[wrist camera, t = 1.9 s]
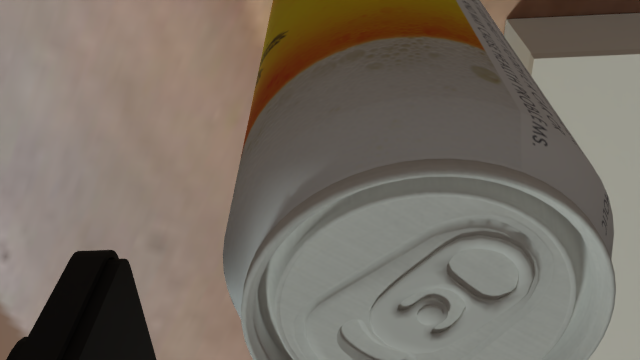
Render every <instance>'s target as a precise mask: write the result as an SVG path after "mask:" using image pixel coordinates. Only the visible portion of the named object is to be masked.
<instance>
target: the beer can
mask: <svg viewBox="0 0 640 360" xmlns="http://www.w3.org/2000/svg"><path fill="white" fill-rule="evenodd" d="M613 239H614V225H613V214H612V209H611V205H610V201H609V197H608V195H607V192H606V190H605V187H604V185H603V183H602V180H601V179H600V177H599V176H598V174H597V172H596V171H595V169H594V167H593V166H592V164H591V163H590V161H589V160H588V158H587V157H586V155H585V154H584V153H583V151H582V150H581V148H580V147H579V145H578V144H577V142H576V141H575V139H574V138H573V136H572V135H571V134H570V132H569V131H568V129H567V128H566V126H565V125H564V123H563V122H562V120H561V119H560V117H559V116H558V114H557V113H556V112H555V110H554V109H553V107H552V106H551V104H550V103H549V101H548V100H547V98H546V97H545V95H544V94H543V92H542V91H541V90H540V88H539V87H538V85H537V84H536V82H535V81H534V79H533V78H532V76H531V75H530V73H529V72H528V71H527V69H526V68H525V66H524V65H523V63H522V62H521V60H520V59H519V57H518V56H517V54H516V53H515V51H514V50H513V49H512V47H511V46H510V44H509V43H508V41H507V40H506V38H505V37H504V35H503V34H502V32H501V31H500V29H499V28H498V27H497V25H496V24H495V22H494V21H493V19H492V18H491V16H490V15H489V13H488V12H487V10H486V9H485V8H484V6H483V5H482V3H481V2H480V0H273V3H272V8H271V13H270V18H269V23H268V28H267V33H266V38H265V42H264V47H263V52H262V57H261V62H260V67H259V72H258V77H257V82H256V87H255V91H254V96H253V101H252V106H251V111H250V116H249V121H248V126H247V131H246V136H245V140H244V145H243V150H242V155H241V160H240V165H239V170H238V175H237V180H236V184H235V189H234V194H233V199H232V204H231V209H230V214H229V219H228V224H227V229H226V233H225V238H224V249H223V265H224V275H225V280H226V284H227V289H228V291H229V294H230V297H231V299H232V302H233V304H234V306H235V308H236V310H237V312H238V314H239V316H240V318H241V322H242V329H243V333H244V338H245V342H246V344H247V347H248V349H249V352H250V354H251V356H252V358H253V360H588V359H589V358H590V356H591V355H592V354H593V353H594V351H595V350H596V348H597V347H598V345H599V343H600V342H601V340H602V338H603V337H604V335H605V332H606V330H607V328H608V326H609V323H610V321H611V317H612V313H613V309H614V305H615V295H616V284H615V272H614V268H613V264H612V260H611V259H612V250H613Z"/></svg>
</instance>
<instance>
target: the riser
mask: <svg viewBox="0 0 640 360" xmlns="http://www.w3.org/2000/svg"><path fill="white" fill-rule="evenodd" d="M504 37H505V38H506V40H507V41H508V43H509V44H510V46H511V47H512V49H513V50H514V51H515V53H516V54H517V56H518V57H519V59H520V60H521V62H522V63H523V65H524V66H525V68H526V69H527V71H528V72H529V73H530V75H531V76H532V78H533V79H534V81H535V82H536V84H537V85H538V87H539V88H540V90H541V91H542V92H543V94H544V95H545V97H546V98H547V100H548V101H549V103H550V104H551V106H552V107H553V109H554V110H555V112H556V113H557V114H558V116H559V117H560V119H561V120H562V122H563V123H564V125H565V126H566V128H567V129H568V131H569V132H570V134H571V135H572V136H573V138H574V139H575V141H576V142H577V144H578V145H579V147H580V148H581V150H582V151H583V153H584V154H585V155H586V157H587V158H588V160H589V161H590V163H591V164H592V166H593V167H594V169H595V171H596V172H597V174H598V176H599V177H600V179H601V180H602V183H603V185H604V187H605V190H606V192H607V195H608V197H609V201H610V205H611V209H612V214H613V225H614V239H613V250H612V259H611V260H612V264H613V268H614V272H615V284H616V295H615V305H614V309H613V313H612V317H611V321H610V323H609V326H608V328H607V330H606V332H605V335H604V337H603V338H602V340H601V342H600V343H599V345H598V347H597V348H596V350H595V351H594V353H593V354H592V355H591V356H590V358H589V359H588V360H640V13H628V14H607V15H585V16H564V17H543V18H521V19H506V24H505V33H504Z"/></svg>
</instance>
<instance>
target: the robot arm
mask: <svg viewBox="0 0 640 360" xmlns="http://www.w3.org/2000/svg"><path fill="white" fill-rule="evenodd" d="M6 360H156V357H155V353H154V349H153V346H152V342H151V339H150V335H149V331H148V328H147V324H146V321H145V317H144V314H143V310H142V306H141V303H140V299H139V296H138V292H137V288H136V285H135V281H134V278H133V274H132V270H131V267H130V264H129V262H128V260H127V259H119V258H118V256H117V254H116V252H115V251H113V250H98V251H77V252H75V253H74V254H73V256H72V257H71V259H70V260H69V262H68V264H67V266H66V268H65V270H64V271H63V273H62V275H61V277H60V279H59V281H58V283H57V284H56V286H55V288H54V290H53V292H52V294H51V295H50V297H49V299H48V301H47V303H46V305H45V306H44V308H43V310H42V312H41V314H40V316H39V318H38V319H37V321H36V323H35V325H34V327H33V329H32V330H31V332H30V334H29V336H28V337H24V338H22V339H21V340H19V341H18V342H17V343H16V345H15V346H14V348H13V349H12V350H11V352H10V354H9V356H8V357H7V359H6Z"/></svg>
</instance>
